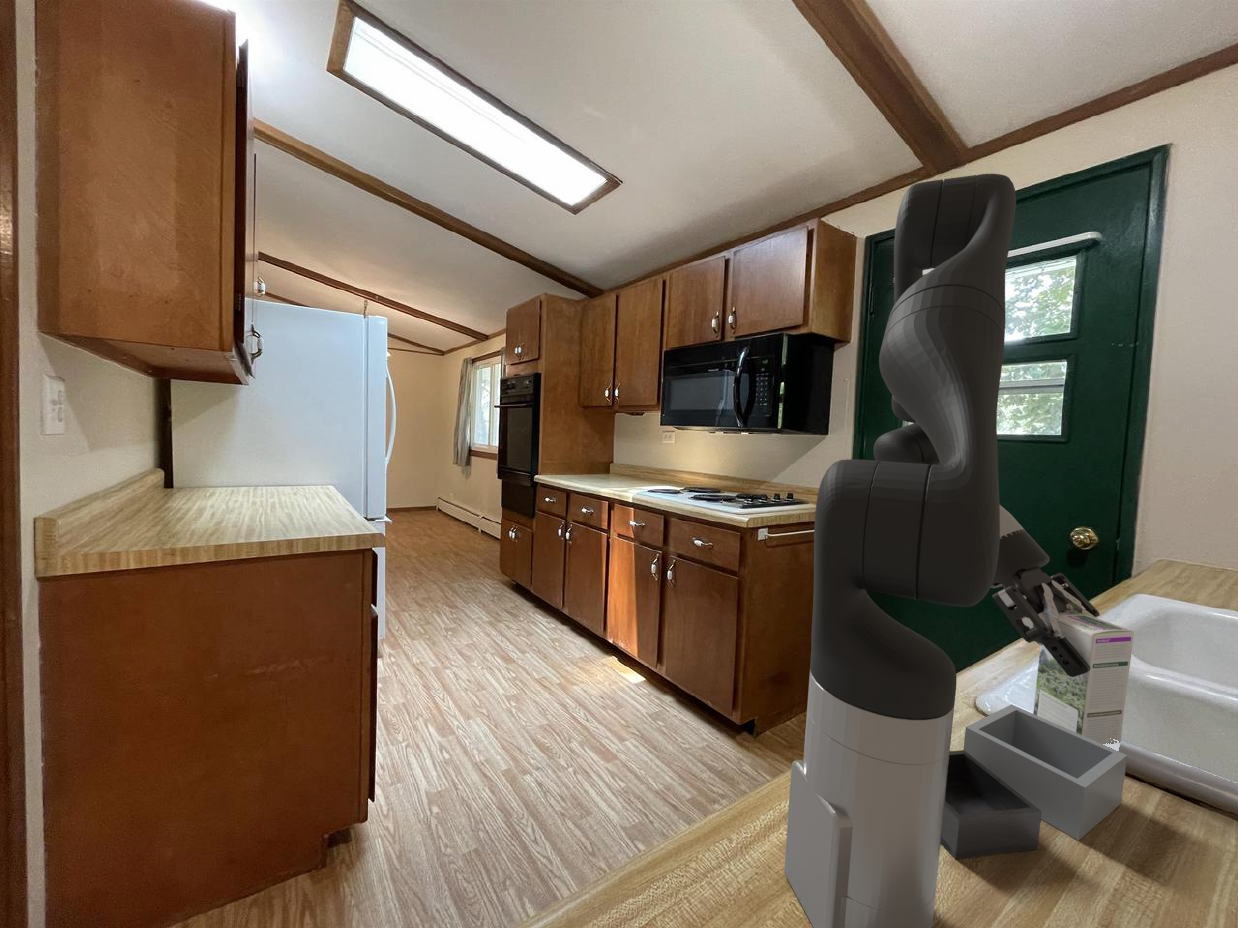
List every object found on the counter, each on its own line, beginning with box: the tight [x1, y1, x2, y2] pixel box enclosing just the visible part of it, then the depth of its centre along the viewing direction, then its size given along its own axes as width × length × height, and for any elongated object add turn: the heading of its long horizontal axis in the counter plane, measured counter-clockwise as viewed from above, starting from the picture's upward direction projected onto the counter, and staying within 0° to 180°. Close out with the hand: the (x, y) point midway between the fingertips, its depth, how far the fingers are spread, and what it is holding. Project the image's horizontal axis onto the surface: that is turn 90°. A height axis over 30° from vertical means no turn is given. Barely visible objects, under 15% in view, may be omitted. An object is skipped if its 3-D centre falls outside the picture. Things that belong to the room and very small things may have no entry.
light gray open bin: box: [962, 704, 1128, 841], centre depth 51 cm, size 10×10×5 cm
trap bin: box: [940, 749, 1042, 860], centre depth 46 cm, size 8×8×4 cm
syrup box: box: [1032, 612, 1134, 744], centre depth 58 cm, size 6×6×14 cm
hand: (1097, 666), depth 57 cm, fingers open, 8 cm apart
